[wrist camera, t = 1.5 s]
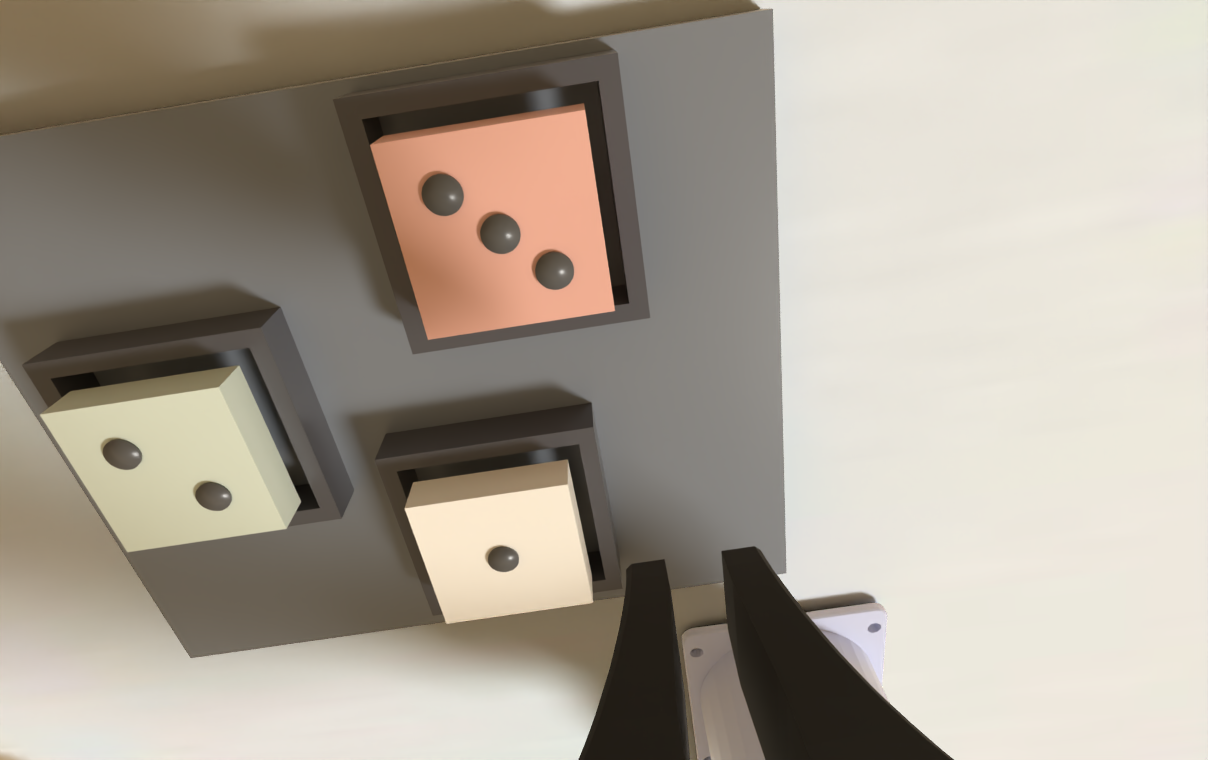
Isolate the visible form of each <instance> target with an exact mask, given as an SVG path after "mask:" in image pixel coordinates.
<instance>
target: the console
mask: <svg viewBox="0 0 1208 760" xmlns="http://www.w3.org/2000/svg"><path fill="white" fill-rule="evenodd" d="M582 103H584V107H585V113H586V120H587V126H588V133H589V140H590V146H591V153H592V160H593V166H594V173H595V180H596V187H597V193H598V200H599V207H600V213H601V220H602V227H603V233H604V240H605V247H606V254H607V260H608V267H609V274H610V280H611V287H612V294H613V300H614V307H615V311H612V312H606V313H599V314H593V315H586V316H580V317H573V318H567V319H560V320H554V321H547V322H541V323H534V324H528V325H521V326H515V327H508V328H502V329H495V330H489V331H482V332H476V333H469V334H463V335H456V336H450V337H443V338H437V339H430V340H428V338H427V335H426V331H425V328H424V325H423V321H422V318H421V314H420V311H419V308H418V304H417V301H416V298H415V294H414V291H413V288H412V284H411V281H410V278H409V274H408V271H407V267H406V264H405V261H404V257H403V254H402V251H401V247H400V244H399V241H398V237H397V234H396V231H395V227H394V224H393V221H392V217H391V214H390V210H389V207H388V204H387V200H386V197H385V194H384V190H383V187H382V184H381V180H380V177H379V174H378V170H377V167H376V163H375V160H374V157H373V153H372V150H371V147H370V145H371V144H372V143H373V142H375V141H376V140H378V139H379V138H381V137H382V136H385V135H391V134H397V133H403V132H409V131H416V130H422V129H428V128H434V127H440V126H446V125H452V124H459V123H465V122H471V121H477V120H483V119H489V118H495V117H502V116H508V115H514V114H520V113H526V112H532V111H538V110H545V109H551V108H557V107H563V106H569V105H575V104H582ZM0 361H1V363H2V364H3V366H4V367H5V369H6V371H7V372H8V374H9V375H10V377H11V378H12V380H13V381H14V383H15V385H16V386H17V388H18V389H19V391H20V392H21V394H22V396H23V397H24V399H25V400H26V402H27V403H28V405H29V406H30V408H31V410H32V411H33V413H34V414H35V416H36V417H37V419H38V420H39V422H40V424H41V425H42V427H43V428H44V430H45V431H46V433H47V435H48V436H49V438H50V439H51V441H52V442H53V444H54V445H55V447H56V449H57V450H58V452H59V453H60V455H61V456H62V458H63V459H64V461H65V463H66V464H67V466H68V467H69V469H70V470H71V472H72V474H73V475H74V477H75V478H76V480H77V481H78V483H79V484H80V486H81V488H82V489H83V491H84V492H85V494H86V495H87V497H88V498H89V500H90V502H91V503H92V505H93V506H94V508H95V509H96V511H97V513H98V514H99V516H100V517H101V519H102V520H103V522H104V523H105V525H106V527H107V528H108V530H109V531H110V533H111V534H112V536H113V538H114V539H115V541H116V542H117V544H118V545H119V547H120V548H121V550H122V552H123V553H124V555H125V556H126V558H127V559H128V561H129V562H130V564H131V566H132V567H133V569H134V570H135V572H136V573H137V575H138V577H139V578H140V580H141V581H142V583H143V584H144V586H145V587H146V589H147V591H148V592H149V594H150V595H151V597H152V598H153V600H154V601H155V603H156V605H157V606H158V608H159V609H160V611H161V612H162V614H163V616H164V617H165V619H166V620H167V622H168V623H169V625H170V626H171V628H172V630H173V631H174V633H175V634H176V636H177V637H178V639H179V641H180V642H181V644H182V645H183V647H184V648H185V650H186V651H187V653H188V655H189V656H190V658H195V657H202V656H209V655H216V654H223V653H230V652H237V651H244V650H251V649H258V648H265V647H272V646H279V645H286V644H293V643H300V642H307V641H314V640H321V639H328V638H335V637H342V636H349V635H356V634H363V633H370V632H377V631H384V630H391V629H398V628H405V627H412V626H419V625H426V624H433V623H440V622H446V621H445V618H444V616H443V613H442V610H441V607H440V605H439V602H438V599H437V596H436V594H435V591H434V588H433V585H432V583H431V580H430V577H429V574H428V572H427V569H426V566H425V563H424V561H423V558H422V555H421V552H420V550H419V547H418V544H417V541H416V539H415V536H414V533H413V531H412V528H411V525H410V522H409V520H408V517H407V514H406V511H405V509H404V508H405V505H406V502H407V499H408V496H409V493H410V490H411V487H412V484H413V482H419V481H426V480H432V479H439V478H446V477H452V476H459V475H466V474H473V473H479V472H486V471H493V470H500V469H506V468H513V467H520V466H527V465H533V464H540V463H547V462H553V461H560V460H567V459H568V463H569V468H570V473H571V478H572V482H573V487H574V492H575V497H576V502H577V506H578V511H579V516H580V521H581V525H582V530H583V535H584V540H585V545H586V549H587V554H588V559H589V564H590V569H591V573H592V590H593V601H594V600H601V599H608V598H615V597H622V596H625V590H626V569H627V568H628V567H629V566H630V565H631V564H634V563H641V562H648V561H654V560H661V559H665V564H666V569H667V574H668V579H669V585H670V590H671V589H678V588H685V587H692V586H699V585H706V584H713V583H720V582H724V578H723V566H722V554H721V551H724V550H731V549H738V548H745V547H752V546H755V547H757V548H758V549H760V550H761V551H762V553H763V555H764V556H765V558H766V559H767V561H768V562H769V564H770V565H771V567H772V568H773V570H774V571H775V573H776V574H783V573H786V540H785V498H784V457H783V415H782V373H781V332H780V290H779V248H778V207H777V165H776V123H775V81H774V40H773V9H758V10H752V11H746V12H740V13H734V14H728V15H722V16H716V17H710V18H704V19H698V20H692V21H686V22H680V23H674V24H668V25H662V26H656V27H649V28H643V29H637V30H631V31H625V32H619V33H613V34H607V35H601V36H595V37H589V38H583V39H577V40H571V41H565V42H559V43H553V44H547V45H541V46H534V47H528V48H522V49H516V50H510V51H504V52H498V53H492V54H486V55H480V56H474V57H468V58H462V59H456V60H450V61H444V62H438V63H432V64H426V65H419V66H413V67H407V68H401V69H395V70H389V71H383V72H377V73H371V74H365V75H359V76H353V77H347V78H341V79H335V80H329V81H323V82H317V83H311V84H304V85H298V86H292V87H286V88H280V89H274V90H268V91H262V92H256V93H250V94H244V95H238V96H232V97H226V98H220V99H214V100H208V101H202V102H196V103H190V104H183V105H177V106H171V107H165V108H159V109H153V110H147V111H141V112H135V113H129V114H123V115H117V116H111V117H105V118H99V119H93V120H87V121H81V122H75V123H68V124H62V125H56V126H50V127H44V128H38V129H32V130H26V131H20V132H14V133H8V134H2V135H0ZM237 365H239V366H240V368H241V370H242V373H243V375H244V377H245V379H246V381H247V384H248V386H249V388H250V390H251V392H252V395H253V397H254V399H255V401H256V403H257V406H258V408H259V410H260V412H261V414H262V417H263V419H264V421H265V423H266V426H267V428H268V430H269V432H270V434H271V437H272V439H273V441H274V443H275V445H276V448H277V450H278V452H279V454H280V456H281V459H282V461H283V463H284V465H285V467H286V470H287V472H288V474H289V476H290V478H291V481H292V483H293V485H294V487H295V489H296V492H297V494H298V496H299V498H300V500H301V503H300V505H299V507H298V508H297V510H296V512H295V514H294V516H293V518H292V520H291V521H290V523H289V525H288V527H287V529H282V530H275V531H268V532H262V533H255V534H248V535H241V536H234V537H228V538H221V539H214V540H207V541H201V542H194V543H187V544H180V545H173V546H167V547H160V548H153V549H146V550H139V551H133V552H127V551H126V549H125V548H124V546H123V545H122V543H121V542H120V540H119V538H118V537H117V535H116V534H115V532H114V531H113V529H112V527H111V526H110V524H109V523H108V521H107V520H106V518H105V516H104V515H103V513H102V512H101V510H100V509H99V507H98V506H97V504H96V502H95V501H94V499H93V498H92V496H91V495H90V493H89V491H88V490H87V488H86V487H85V485H84V484H83V482H82V480H81V479H80V477H79V476H78V474H77V473H76V471H75V469H74V468H73V466H72V465H71V463H70V462H69V460H68V458H67V457H66V455H65V454H64V452H63V451H62V449H61V447H60V446H59V444H58V443H57V441H56V440H55V438H54V436H53V435H52V433H51V432H50V430H49V429H48V427H47V425H46V424H45V422H44V421H43V419H42V418H41V416H40V414H41V413H43V412H44V411H45V410H46V409H48V408H49V407H50V406H52V405H53V404H54V403H56V402H57V401H58V400H60V399H61V398H62V397H63V396H65V395H66V394H67V393H69V392H70V391H75V390H82V389H88V388H95V387H101V386H107V385H114V384H120V383H127V382H133V381H140V380H146V379H153V378H159V377H166V376H172V375H179V374H185V373H192V372H198V371H205V370H211V369H218V368H224V367H231V366H237Z"/></svg>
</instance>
